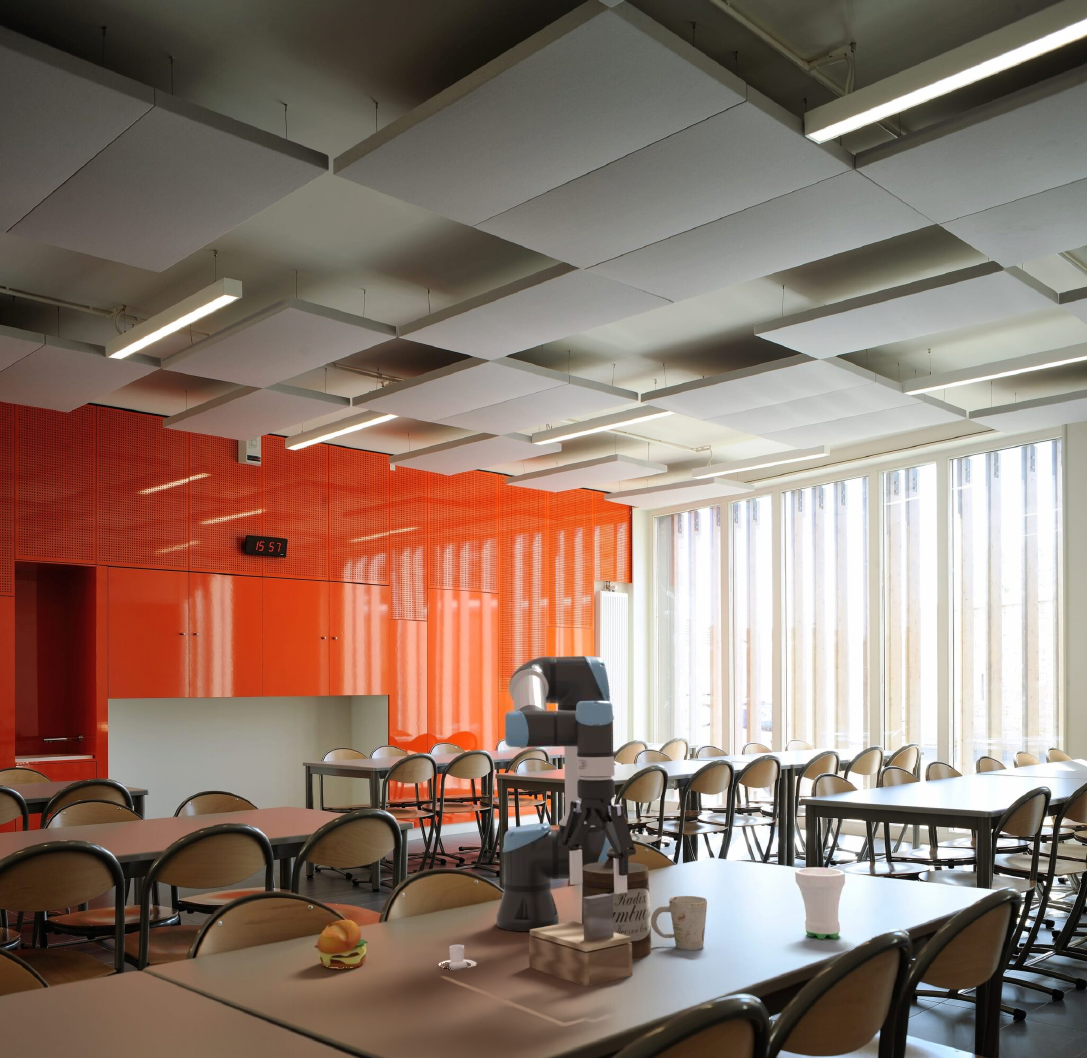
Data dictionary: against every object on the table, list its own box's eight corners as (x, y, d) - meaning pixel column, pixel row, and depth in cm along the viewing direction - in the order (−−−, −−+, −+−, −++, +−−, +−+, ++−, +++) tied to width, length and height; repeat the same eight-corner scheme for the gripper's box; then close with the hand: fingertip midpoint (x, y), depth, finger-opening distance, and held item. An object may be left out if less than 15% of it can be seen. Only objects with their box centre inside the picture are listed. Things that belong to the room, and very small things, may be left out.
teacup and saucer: (465, 974, 206) (465, 953, 207) (429, 971, 209) (430, 950, 209) (482, 963, 214) (482, 943, 215) (448, 960, 217) (448, 940, 218)
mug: (707, 952, 220) (706, 904, 221) (649, 950, 222) (648, 902, 224) (709, 943, 228) (707, 896, 229) (653, 941, 230) (652, 894, 232)
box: (529, 969, 207) (529, 936, 208) (575, 960, 214) (574, 927, 216) (585, 989, 193) (585, 953, 194) (632, 978, 200) (631, 943, 201)
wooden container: (605, 966, 209) (602, 855, 213) (570, 951, 222) (568, 846, 225) (665, 957, 216) (661, 850, 219) (627, 942, 229) (625, 841, 232)
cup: (794, 939, 230) (791, 874, 232) (801, 928, 240) (798, 866, 242) (845, 943, 226) (842, 876, 228) (850, 932, 236) (847, 868, 238)
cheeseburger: (377, 959, 217) (373, 914, 216) (353, 985, 207) (348, 938, 206) (336, 955, 220) (331, 910, 219) (309, 980, 210) (305, 933, 209)
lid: (529, 934, 208) (529, 888, 210) (573, 926, 215) (573, 882, 217) (586, 951, 194) (585, 902, 196) (631, 942, 201) (629, 894, 203)
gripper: (543, 776, 213) (544, 882, 209) (623, 782, 193) (626, 899, 190) (571, 774, 217) (573, 878, 214) (652, 780, 198) (655, 894, 194)
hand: (597, 888), depth 202 cm, fingers open, 13 cm apart
